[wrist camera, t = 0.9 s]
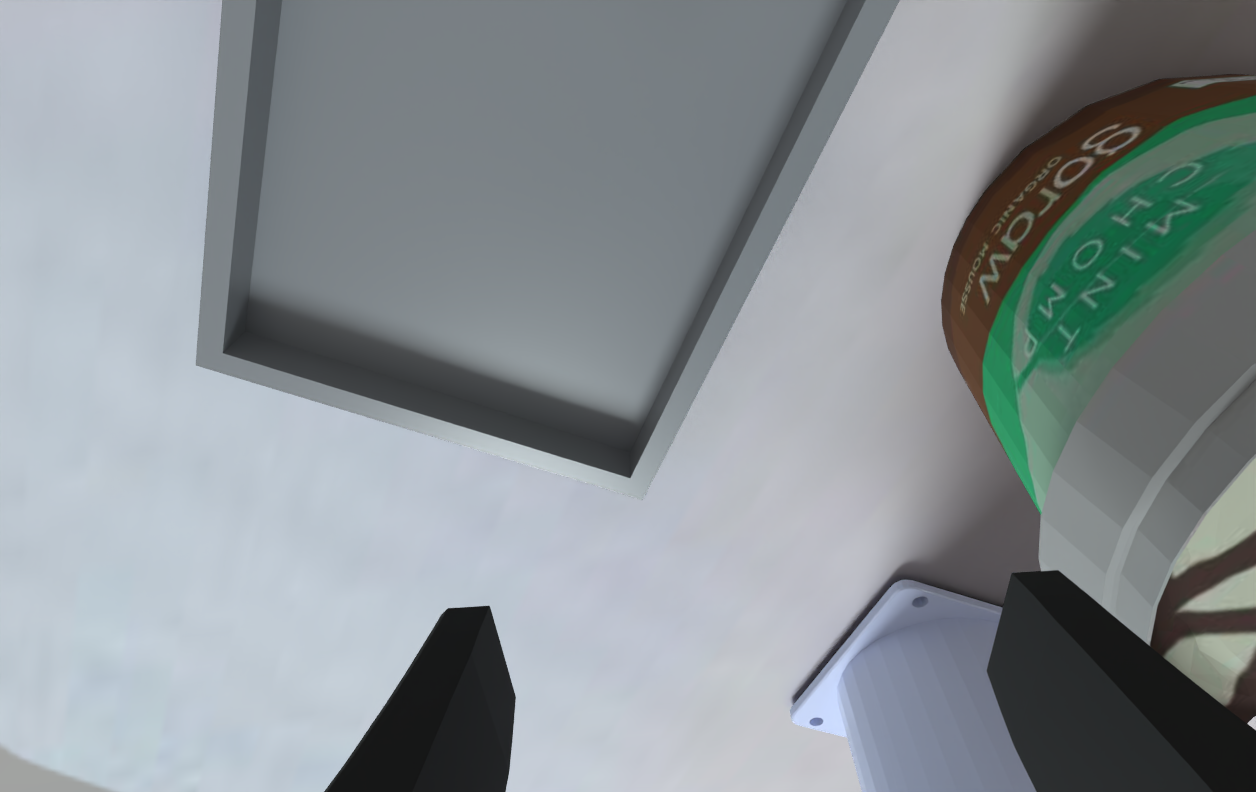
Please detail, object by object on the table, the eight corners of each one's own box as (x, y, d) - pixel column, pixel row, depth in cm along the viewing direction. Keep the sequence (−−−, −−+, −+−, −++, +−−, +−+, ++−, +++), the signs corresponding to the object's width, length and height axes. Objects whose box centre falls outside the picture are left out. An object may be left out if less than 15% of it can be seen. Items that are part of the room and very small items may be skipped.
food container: (1080, -91, 14) (1768, -164, 6) (1330, 12, 15) (2247, 88, 6) (814, 408, 20) (946, 736, 12) (1003, 460, 21) (1251, 797, 13)
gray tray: (1099, -458, 11) (1163, -514, 10) (641, 465, 21) (642, 500, 20) (352, -949, 9) (304, -1105, 8) (226, 336, 19) (195, 365, 18)
